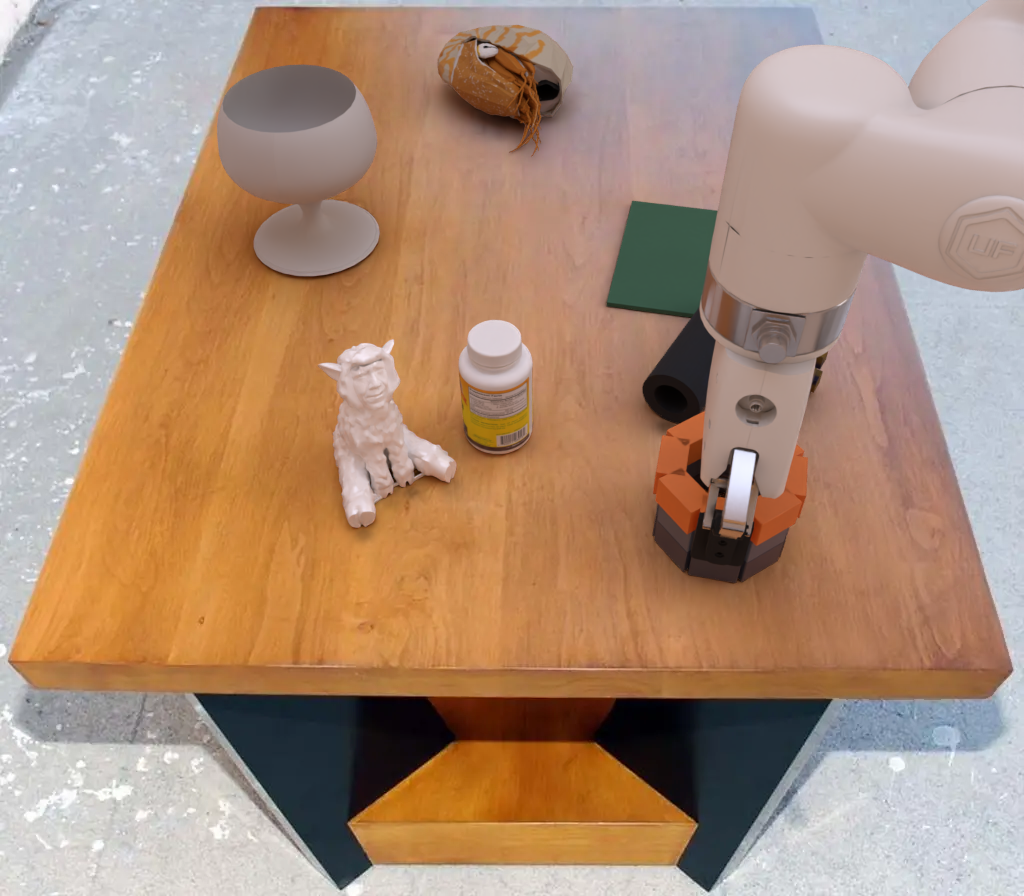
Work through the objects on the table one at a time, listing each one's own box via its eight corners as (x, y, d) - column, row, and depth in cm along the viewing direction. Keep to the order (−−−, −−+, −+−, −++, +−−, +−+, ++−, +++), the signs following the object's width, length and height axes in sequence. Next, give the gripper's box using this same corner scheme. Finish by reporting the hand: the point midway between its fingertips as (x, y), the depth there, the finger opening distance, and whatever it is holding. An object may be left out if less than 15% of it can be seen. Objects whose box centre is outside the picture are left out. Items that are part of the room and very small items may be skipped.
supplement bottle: (481, 399, 83) (476, 303, 75) (543, 418, 81) (545, 323, 74) (451, 445, 80) (443, 350, 72) (515, 466, 78) (513, 371, 70)
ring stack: (784, 491, 76) (796, 449, 73) (778, 591, 70) (791, 550, 67) (662, 471, 78) (669, 429, 74) (647, 568, 72) (653, 527, 68)
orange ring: (802, 445, 73) (809, 423, 71) (797, 556, 66) (804, 534, 65) (664, 424, 74) (667, 402, 73) (646, 530, 68) (649, 508, 66)
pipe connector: (855, 300, 82) (784, 419, 74) (841, 347, 86) (772, 465, 78) (724, 256, 86) (644, 364, 78) (717, 303, 90) (640, 410, 82)
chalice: (369, 292, 92) (347, 147, 81) (224, 279, 94) (182, 134, 83) (403, 203, 102) (387, 62, 90) (271, 193, 103) (239, 53, 92)
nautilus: (587, 168, 106) (445, 182, 106) (566, 57, 119) (440, 69, 119) (587, 102, 100) (436, 116, 100) (564, -7, 113) (432, 5, 113)
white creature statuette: (355, 537, 74) (330, 425, 65) (299, 465, 79) (269, 352, 70) (461, 477, 77) (452, 364, 69) (402, 413, 82) (386, 299, 73)
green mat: (794, 223, 98) (795, 219, 98) (786, 330, 88) (788, 326, 88) (631, 204, 101) (632, 200, 101) (606, 306, 91) (606, 302, 90)
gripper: (848, 425, 46) (774, 622, 59) (850, 208, 57) (787, 413, 70) (685, 398, 47) (647, 598, 60) (718, 191, 59) (680, 396, 71)
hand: (722, 498), depth 65 cm, fingers open, 9 cm apart
